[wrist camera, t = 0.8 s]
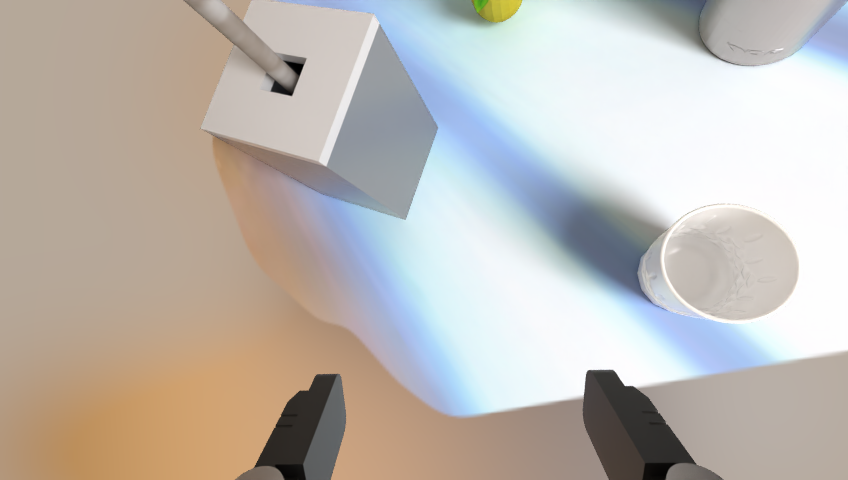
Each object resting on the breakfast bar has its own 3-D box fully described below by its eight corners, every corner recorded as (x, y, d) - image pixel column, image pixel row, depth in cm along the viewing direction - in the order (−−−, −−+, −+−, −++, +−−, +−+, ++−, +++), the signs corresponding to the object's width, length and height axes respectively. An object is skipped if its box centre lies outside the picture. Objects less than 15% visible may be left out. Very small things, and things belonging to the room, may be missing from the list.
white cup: (620, 241, 37) (646, 217, 28) (715, 223, 36) (777, 191, 26) (642, 326, 36) (678, 331, 26) (743, 312, 34) (821, 313, 24)
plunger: (317, 78, 38) (-142, -397, 13) (386, 92, 36) (-6, -462, 10) (288, 152, 38) (-251, -187, 12) (357, 171, 35) (-136, -204, 10)
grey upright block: (354, 109, 48) (252, -2, 31) (438, 127, 45) (373, 13, 28) (322, 194, 47) (200, 128, 30) (405, 219, 44) (318, 161, 27)
